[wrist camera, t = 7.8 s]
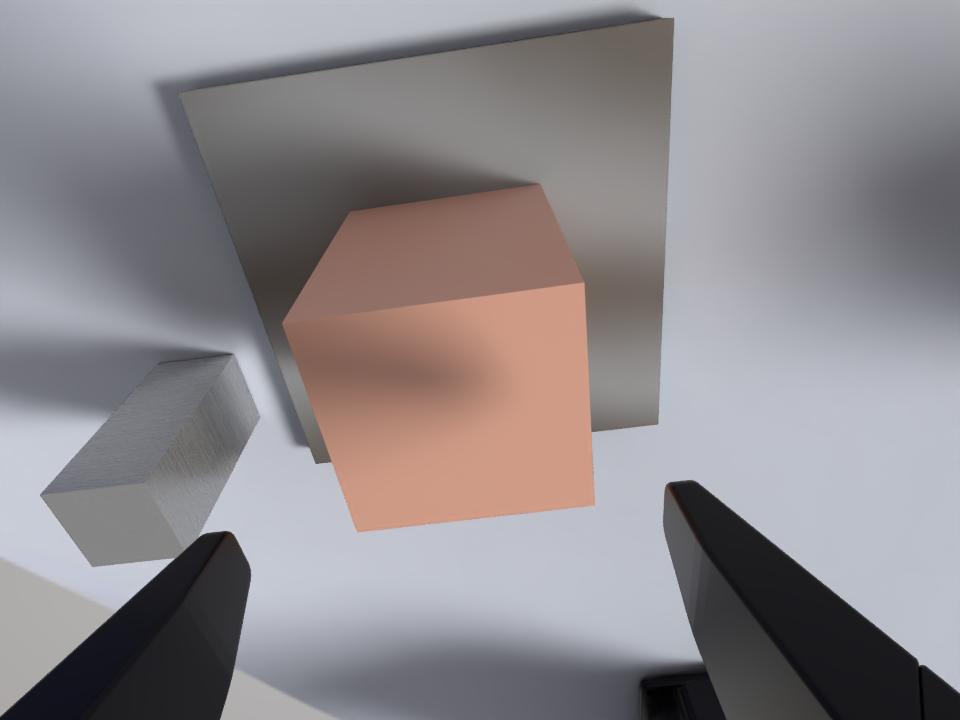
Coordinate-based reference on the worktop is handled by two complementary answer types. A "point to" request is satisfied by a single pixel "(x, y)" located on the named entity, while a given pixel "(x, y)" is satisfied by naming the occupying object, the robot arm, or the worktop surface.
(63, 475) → the post steel
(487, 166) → the plate
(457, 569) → the worktop surface
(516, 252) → the salmon pink block
